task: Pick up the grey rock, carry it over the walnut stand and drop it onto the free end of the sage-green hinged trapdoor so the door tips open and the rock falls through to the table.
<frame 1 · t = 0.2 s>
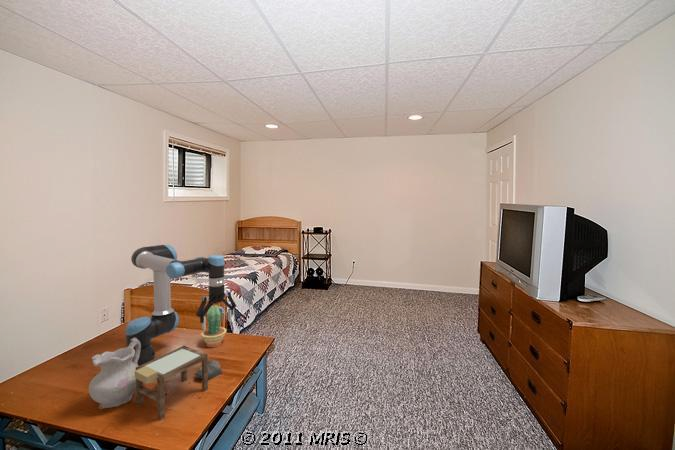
hand: (217, 324, 149), 26 cm above the table, fingers open, 13 cm apart
trapdoor: (168, 364, 128), point 17 cm above the table, hinge at 0.0°
ceramic pitcher: (119, 398, 130), on the table
potted cactus: (214, 344, 182), on the table
rock: (207, 376, 148), on the table
stand: (173, 397, 131), on the table
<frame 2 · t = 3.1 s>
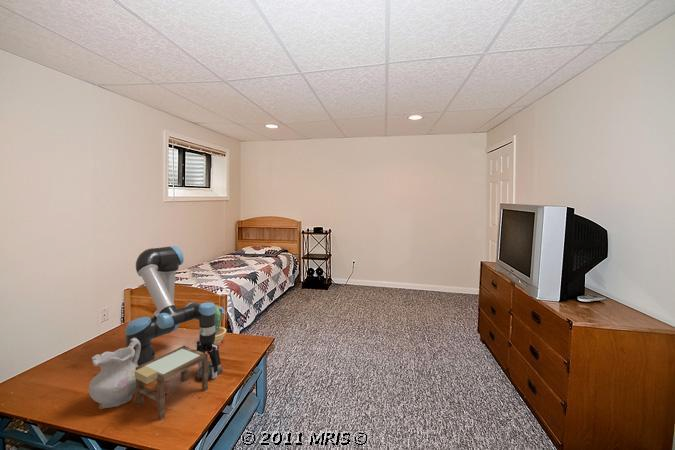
hand: (207, 374, 148), 0 cm above the table, fingers open, 9 cm apart
rock: (208, 375, 148), on the table, touching gripper
everything else where it was.
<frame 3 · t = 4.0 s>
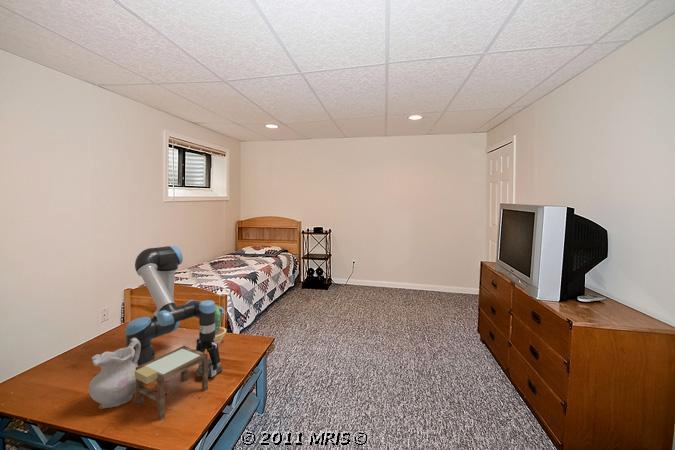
hand: (207, 372, 148), 1 cm above the table, fingers closed on rock, 9 cm apart
rock: (208, 373, 149), point 1 cm above the table, touching gripper
everything else where it was.
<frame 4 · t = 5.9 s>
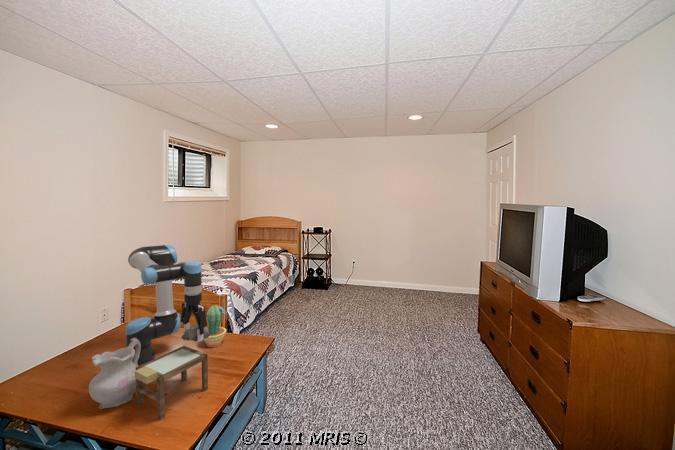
hand: (193, 338, 139), 23 cm above the table, fingers closed on rock, 9 cm apart
rock: (194, 339, 140), point 23 cm above the table, touching gripper
everything else where it was.
when the fingers open (20 cm above the table, at t = 7.6 s): rock drops 1 cm, point 18 cm above the table.
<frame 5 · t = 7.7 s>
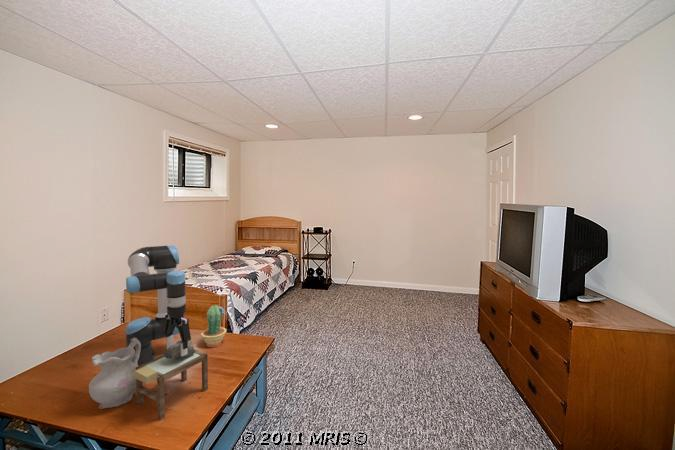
hand: (177, 352, 131), 21 cm above the table, fingers open, 9 cm apart
rock: (178, 356, 132), point 18 cm above the table
everything else where it was.
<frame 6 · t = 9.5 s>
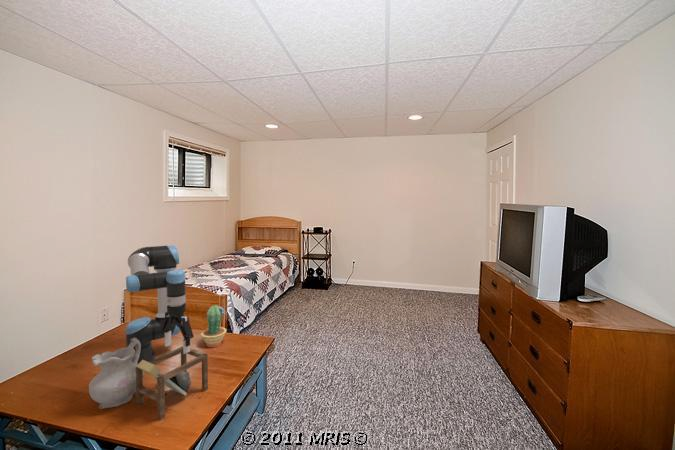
hand: (177, 348, 131), 22 cm above the table, fingers open, 13 cm apart
trapdoor: (162, 378, 126), point 12 cm above the table, hinge at -54.0°, touching rock
rock: (173, 385, 131), point 5 cm above the table, touching trapdoor
everything else where it was.
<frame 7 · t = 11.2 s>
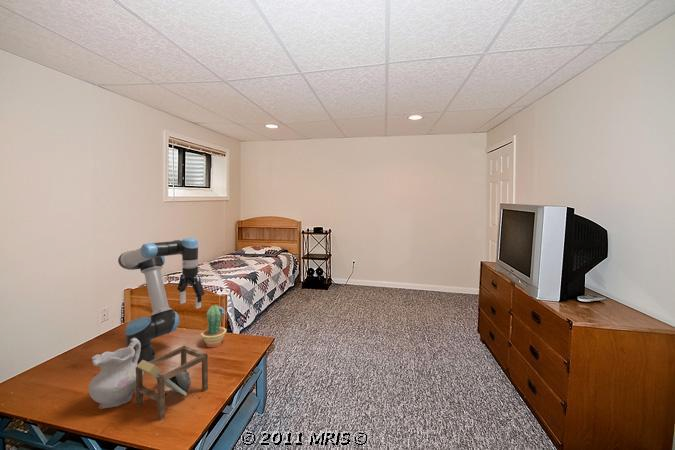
hand: (190, 305, 154), 34 cm above the table, fingers open, 13 cm apart
nothing on the table moved.
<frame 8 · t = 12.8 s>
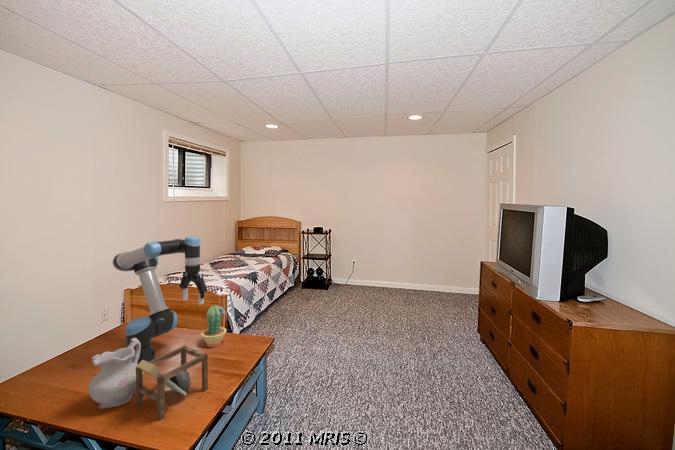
hand: (193, 302, 159), 35 cm above the table, fingers open, 13 cm apart
nothing on the table moved.
at the end: rock point 5.2 cm above the table; trapdoor at -54° (first picture: +0°); the gripper is holding nothing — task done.
